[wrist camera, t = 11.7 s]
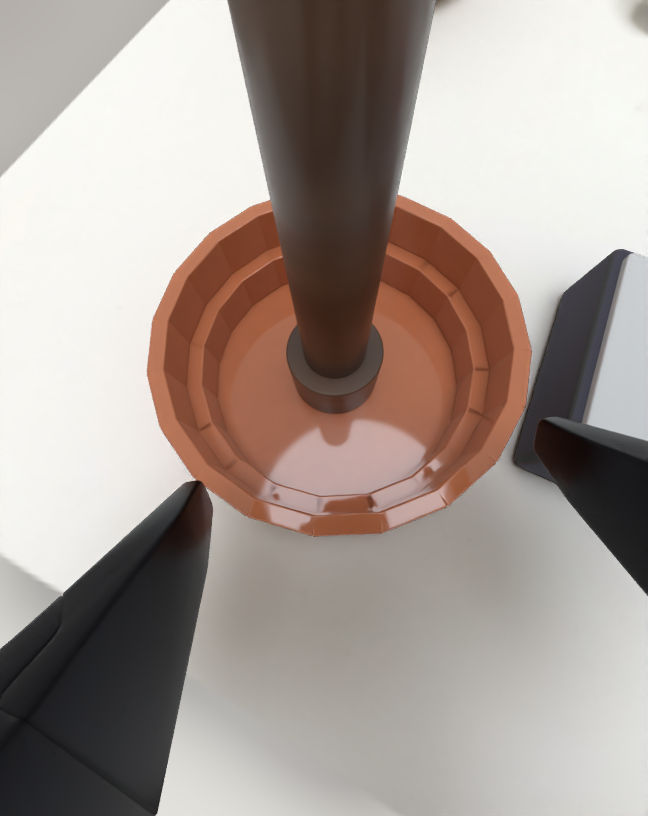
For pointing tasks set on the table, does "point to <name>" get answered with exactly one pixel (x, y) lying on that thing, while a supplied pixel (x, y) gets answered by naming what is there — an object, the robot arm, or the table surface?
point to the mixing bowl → (359, 428)
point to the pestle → (333, 167)
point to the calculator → (595, 356)
